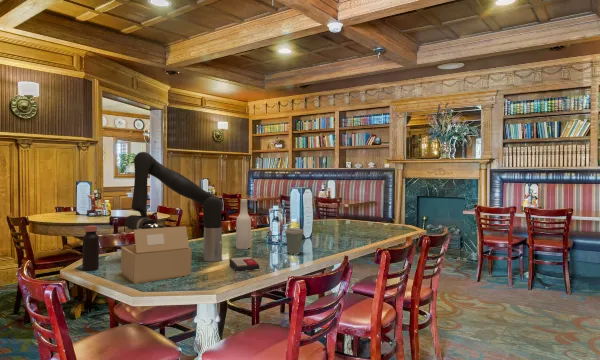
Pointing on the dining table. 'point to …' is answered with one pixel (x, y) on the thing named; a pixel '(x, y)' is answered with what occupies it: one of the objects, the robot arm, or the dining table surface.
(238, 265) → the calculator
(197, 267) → the dining table surface
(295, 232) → the disposable coffee cup
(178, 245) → the carton flap
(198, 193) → the robot arm
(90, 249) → the bottle
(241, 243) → the alcohol
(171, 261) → the carton
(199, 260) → the dining table surface
